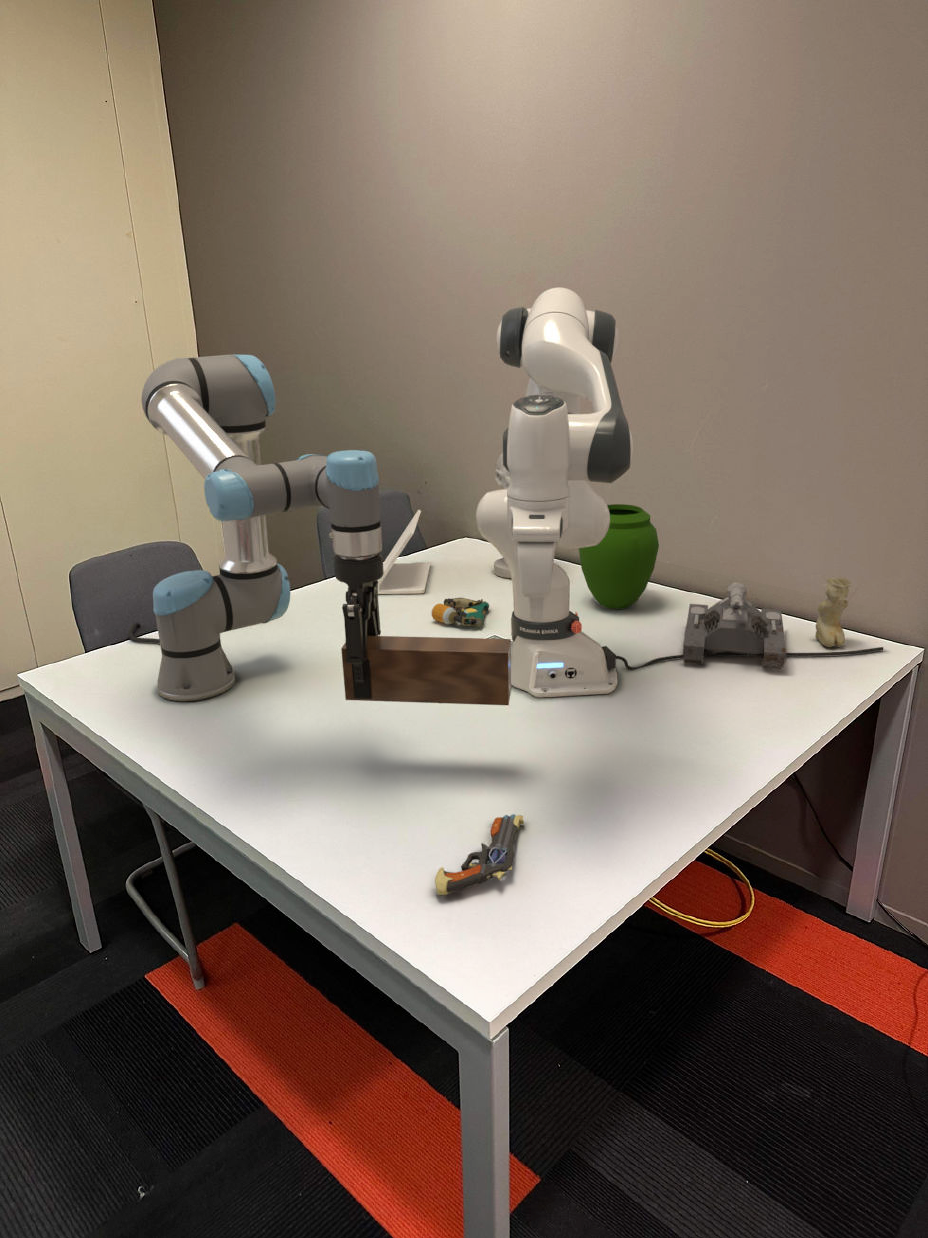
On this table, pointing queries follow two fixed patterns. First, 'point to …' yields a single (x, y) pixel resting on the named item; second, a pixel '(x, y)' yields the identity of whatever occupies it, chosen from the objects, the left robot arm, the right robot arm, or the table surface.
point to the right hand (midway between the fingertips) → (538, 606)
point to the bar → (436, 670)
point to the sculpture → (832, 613)
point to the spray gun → (460, 611)
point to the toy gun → (484, 858)
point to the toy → (735, 630)
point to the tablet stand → (403, 568)
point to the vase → (621, 558)
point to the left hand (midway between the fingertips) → (367, 689)
